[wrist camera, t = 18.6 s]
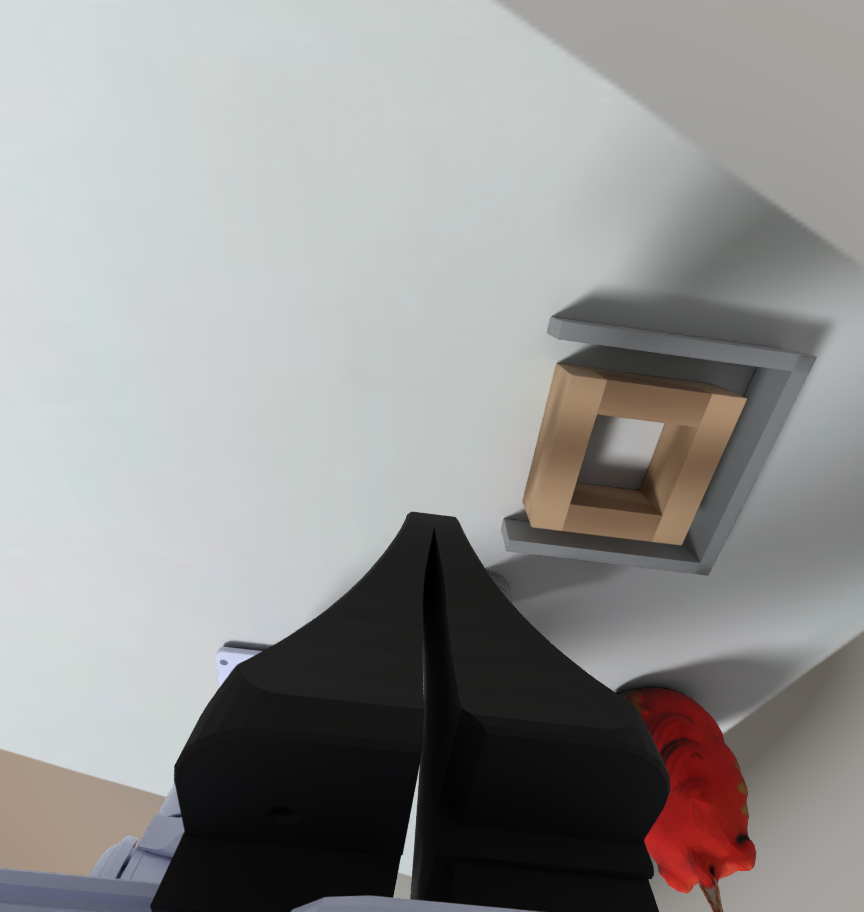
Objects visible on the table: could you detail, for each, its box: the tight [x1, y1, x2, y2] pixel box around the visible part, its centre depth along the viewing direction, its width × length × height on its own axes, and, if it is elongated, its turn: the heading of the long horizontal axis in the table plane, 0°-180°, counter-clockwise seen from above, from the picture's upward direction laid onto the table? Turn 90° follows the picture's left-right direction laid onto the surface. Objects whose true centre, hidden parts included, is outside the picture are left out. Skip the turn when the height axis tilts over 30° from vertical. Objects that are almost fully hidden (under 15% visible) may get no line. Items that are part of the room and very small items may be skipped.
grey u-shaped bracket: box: [501, 317, 817, 575], centre depth 20 cm, size 11×11×2 cm
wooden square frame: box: [523, 363, 747, 545], centre depth 20 cm, size 8×8×2 cm
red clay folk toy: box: [618, 688, 756, 912], centre depth 22 cm, size 8×7×15 cm
